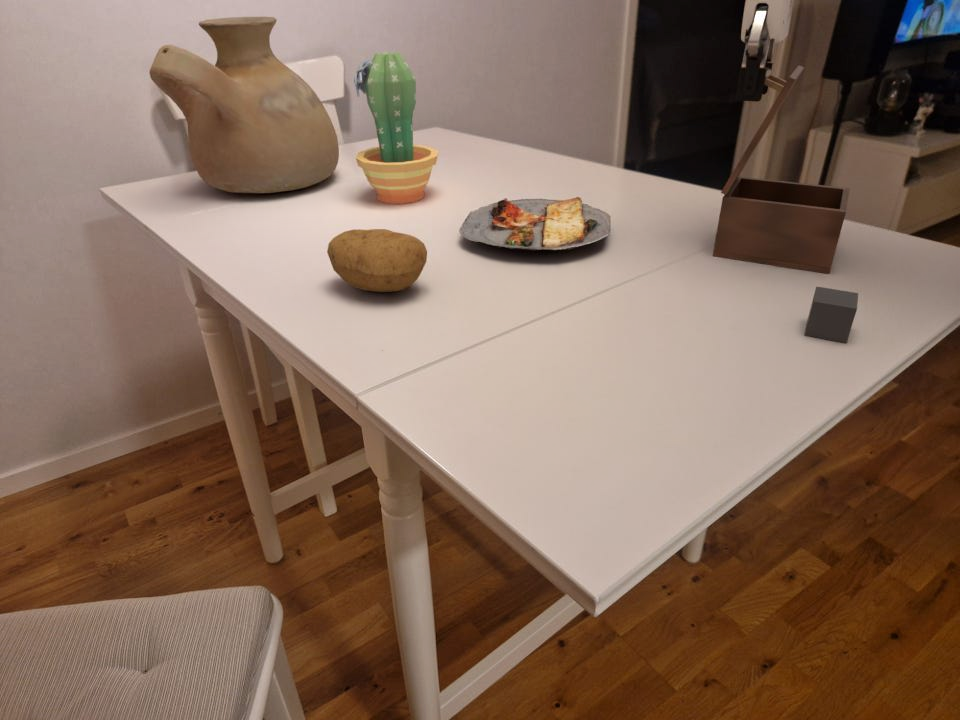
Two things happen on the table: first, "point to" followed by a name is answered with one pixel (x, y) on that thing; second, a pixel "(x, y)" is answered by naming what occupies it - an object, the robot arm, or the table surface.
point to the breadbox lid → (784, 90)
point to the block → (831, 314)
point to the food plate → (537, 224)
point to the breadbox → (781, 223)
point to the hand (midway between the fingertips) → (751, 95)
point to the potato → (377, 259)
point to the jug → (248, 111)
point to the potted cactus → (393, 131)
